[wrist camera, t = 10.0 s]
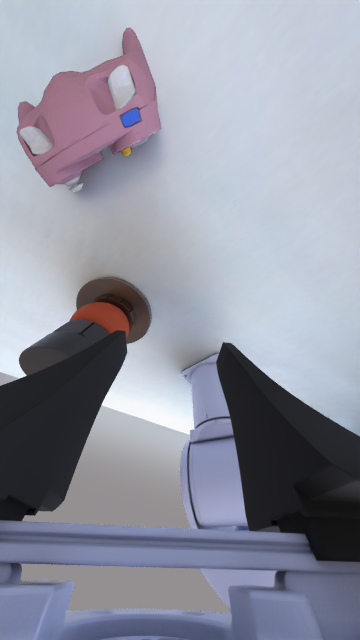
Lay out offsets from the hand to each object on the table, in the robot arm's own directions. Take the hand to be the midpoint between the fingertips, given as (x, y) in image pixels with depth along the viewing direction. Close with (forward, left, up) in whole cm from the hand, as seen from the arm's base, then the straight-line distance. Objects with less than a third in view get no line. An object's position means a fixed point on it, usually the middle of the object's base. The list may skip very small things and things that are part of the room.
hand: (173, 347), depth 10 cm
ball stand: (+4, +8, -9) cm, 13 cm away
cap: (+4, +8, -3) cm, 9 cm away
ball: (+4, +8, -5) cm, 10 cm away
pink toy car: (+15, -4, -10) cm, 18 cm away
